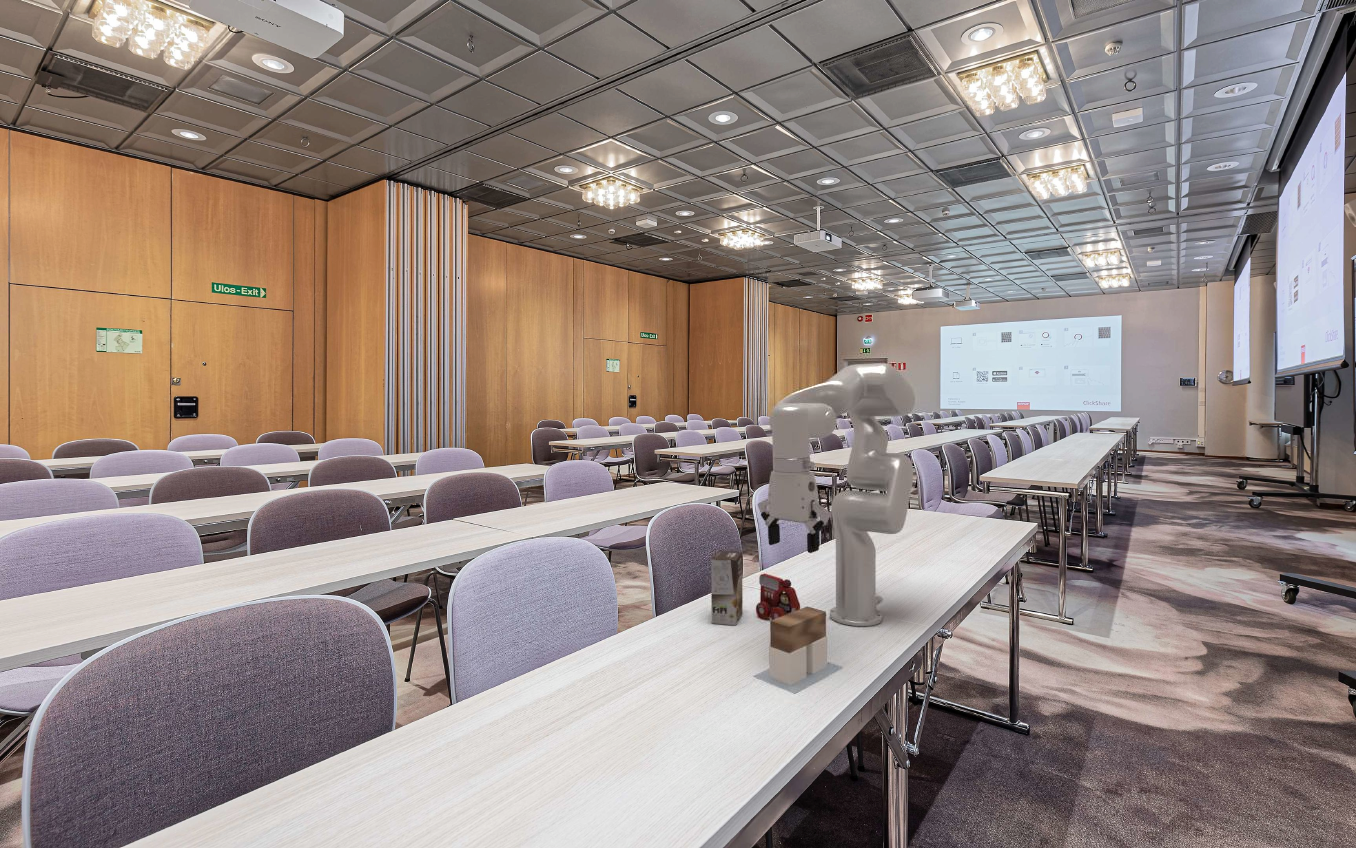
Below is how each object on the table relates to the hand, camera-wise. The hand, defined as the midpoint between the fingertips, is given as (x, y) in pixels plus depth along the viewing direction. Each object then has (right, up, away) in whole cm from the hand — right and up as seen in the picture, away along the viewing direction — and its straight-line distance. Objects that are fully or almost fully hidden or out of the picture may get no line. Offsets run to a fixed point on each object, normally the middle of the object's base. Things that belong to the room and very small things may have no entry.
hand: (793, 547), depth 128 cm
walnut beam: (0, -17, -7) cm, 18 cm away
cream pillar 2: (+2, -23, -5) cm, 23 cm away
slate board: (0, -24, -7) cm, 25 cm away
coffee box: (-12, -23, +26) cm, 37 cm away
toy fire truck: (+1, -23, +25) cm, 34 cm away
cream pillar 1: (-3, -23, -9) cm, 25 cm away
